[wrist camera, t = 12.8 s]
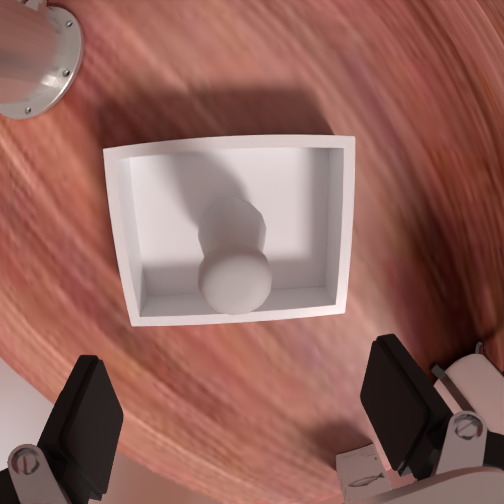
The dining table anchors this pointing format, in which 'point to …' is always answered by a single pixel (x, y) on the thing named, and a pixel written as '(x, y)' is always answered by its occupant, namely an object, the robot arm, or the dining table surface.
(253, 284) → the salt shaker
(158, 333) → the dining table surface
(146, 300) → the bin
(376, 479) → the supplement box
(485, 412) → the coffee press
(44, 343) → the dining table surface
